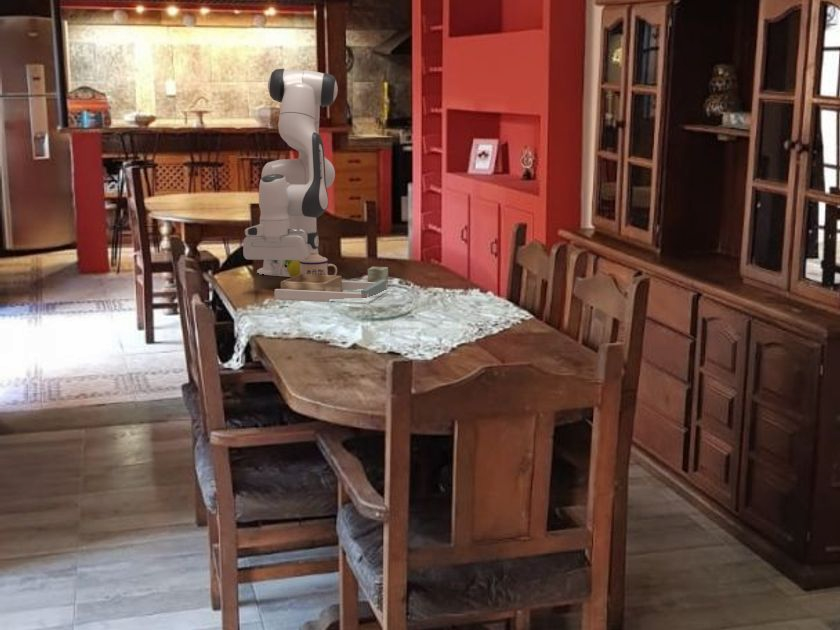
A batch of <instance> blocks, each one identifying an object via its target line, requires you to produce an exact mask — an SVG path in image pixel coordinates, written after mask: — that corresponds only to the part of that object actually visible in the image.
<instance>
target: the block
mask: <svg viewBox="0 0 840 630" xmlns="http://www.w3.org/2000/svg"><path fill="white" fill-rule="evenodd" d="M382 279H384V280H387V283H388V284H389V267H387V266H371V267H369V268H367V282H378V281H380V280H382Z"/></svg>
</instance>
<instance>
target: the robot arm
mask: <svg viewBox="0 0 840 630" xmlns="http://www.w3.org/2000/svg"><path fill="white" fill-rule="evenodd" d="M267 89H268V93H269V96H270V98H271V99H272V100H273V101H276V102H277V103H280V104H281V105H280V108H279V116H278V134H279V135H280V137H281V139H282V140H283V141H284V142H285V143H286V144H287V146H289V147H290V148H292V149H293V150H296V151H297V152H298V158H289V159H288V158H287V159H286V158H285V159H276V160H272V161H268V162H267V163H266V164H264V166H263V167H262V171H261V178H260V181H259V187H258V206H259V209H260V216H259V223H258V224H255V225H253V226H250V227H247V228H246V229H244V234H245V236H246V237H245V236H244V239H243V246H242V248H243V249H242V252H243V253H242V254H243V257H244V259H246V260H255V261H256V260H257V261H258V260H260V261H261V260H263V265H262V267H260V268H258V269H257V270H256V274H257V273H259V274H258V275H262V274H264V276H275V277H276V276H277V277H288V278H291V277H293V276H291V275H289V273H288V271H287V264H288V263H287V264H285V263H286V262H285V260H306V259H307V258H308V257H309V255H310V252H311V251H316V252H317V254H318V255H320V254H319V242H320V241H319V232H318V230H317V229H318V228H317V219H318V218H319V217H320V216H322V215H323V214H324V213H325V211H326V210H327V209H328V207H329V195H328V191H327V190H328V189H327V188H330V187H331V186H332V185H333V183H334V181H335V177H336V171H335V167H334V165H333V163H332V162H331V161H330V160H329V159H328V158H327V157H326V156H325V148H324V142H323V138H322V136H321V134H319V132H320V118H321V117H320V110H321V108H325V107H329V106H331V105H333V104H334V101H335V100H336V98H337V96H338V91H339V89H338V83H337V78H335V76H334V75H332V74H329V73H328V72H319V71H315V70H310V69H304V70H303V69H285V68H277V69H274V70H273V71H272V72H271V74H270V76H269V79H268V81H267ZM320 107H321V108H320Z"/></svg>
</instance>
